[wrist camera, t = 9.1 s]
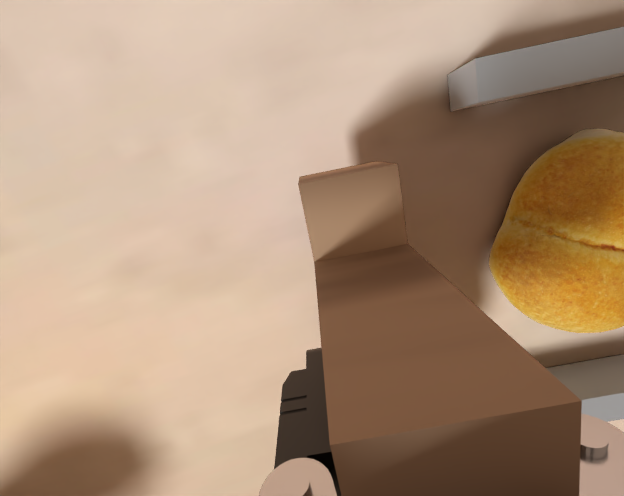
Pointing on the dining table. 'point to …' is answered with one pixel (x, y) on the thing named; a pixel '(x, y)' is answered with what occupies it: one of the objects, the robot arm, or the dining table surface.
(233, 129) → the dining table surface
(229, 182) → the dining table surface
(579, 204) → the bread roll
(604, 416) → the bread corral
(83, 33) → the dining table surface
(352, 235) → the tan stepped block
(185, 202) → the dining table surface
